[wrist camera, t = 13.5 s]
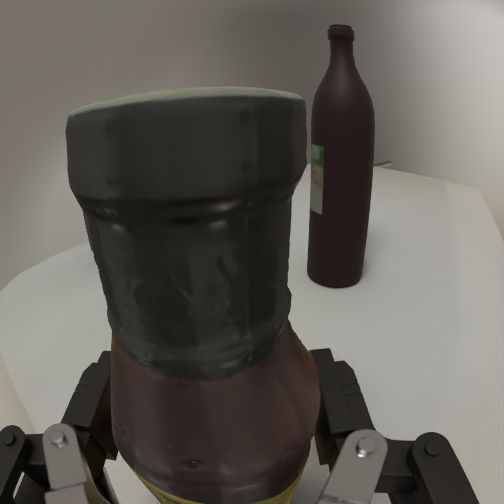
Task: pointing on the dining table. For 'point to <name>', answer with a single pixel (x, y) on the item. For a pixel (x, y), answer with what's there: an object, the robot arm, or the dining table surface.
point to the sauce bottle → (200, 287)
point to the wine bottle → (340, 168)
